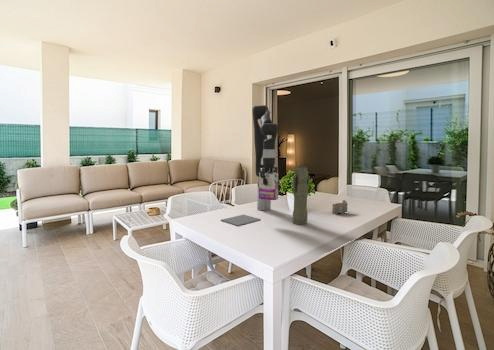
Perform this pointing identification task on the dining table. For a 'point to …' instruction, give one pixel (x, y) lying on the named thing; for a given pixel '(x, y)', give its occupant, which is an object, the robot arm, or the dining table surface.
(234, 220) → the mat
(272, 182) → the candy bar box
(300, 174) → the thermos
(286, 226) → the dining table surface
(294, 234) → the dining table surface
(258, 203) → the robot arm
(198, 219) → the dining table surface
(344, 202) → the architectural model on board
